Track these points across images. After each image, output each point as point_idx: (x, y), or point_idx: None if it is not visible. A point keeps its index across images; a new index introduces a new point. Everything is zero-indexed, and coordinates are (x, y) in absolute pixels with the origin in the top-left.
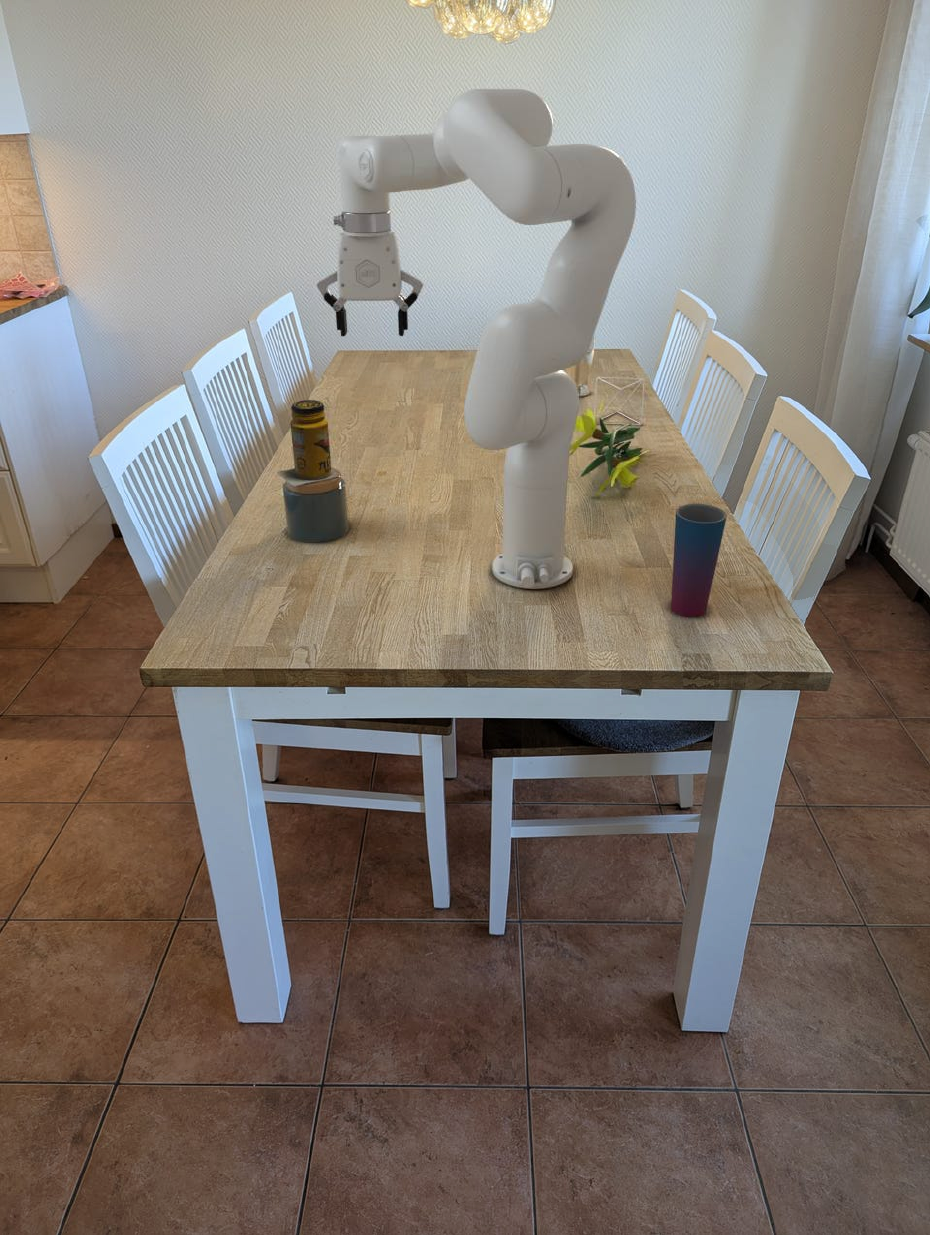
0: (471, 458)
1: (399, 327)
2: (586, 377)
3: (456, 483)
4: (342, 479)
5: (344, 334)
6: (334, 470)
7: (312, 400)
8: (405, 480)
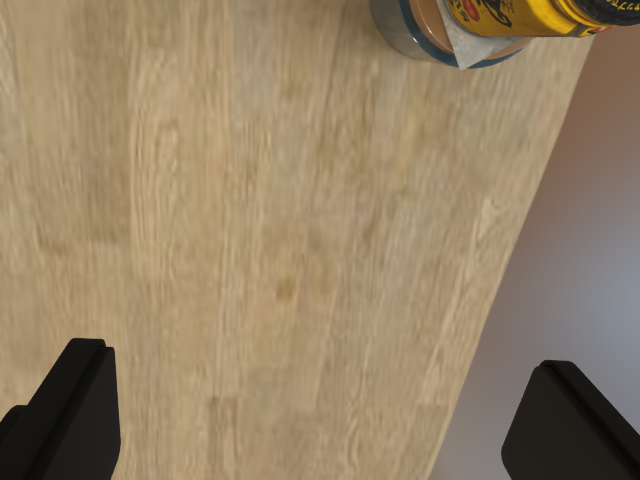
0: None
1: (77, 390)
2: None
3: (123, 225)
4: (401, 2)
5: (548, 367)
6: (429, 5)
7: (620, 1)
8: (236, 251)
